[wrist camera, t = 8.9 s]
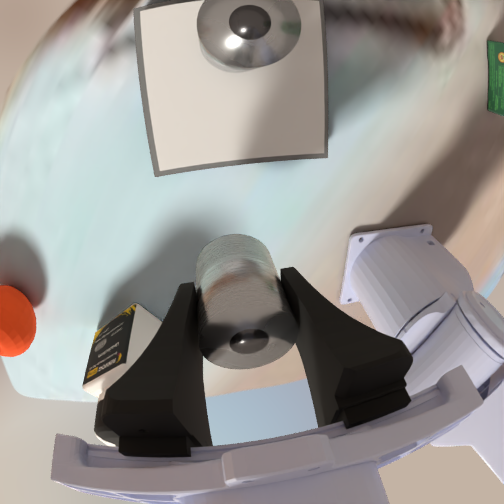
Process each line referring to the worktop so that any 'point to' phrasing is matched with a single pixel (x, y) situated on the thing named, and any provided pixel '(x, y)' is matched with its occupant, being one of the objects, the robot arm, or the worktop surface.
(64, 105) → the worktop surface
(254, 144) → the scale
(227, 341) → the spacer
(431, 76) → the worktop surface
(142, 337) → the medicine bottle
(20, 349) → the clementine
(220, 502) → the robot arm
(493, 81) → the green cardboard box
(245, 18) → the spacer
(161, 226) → the worktop surface
